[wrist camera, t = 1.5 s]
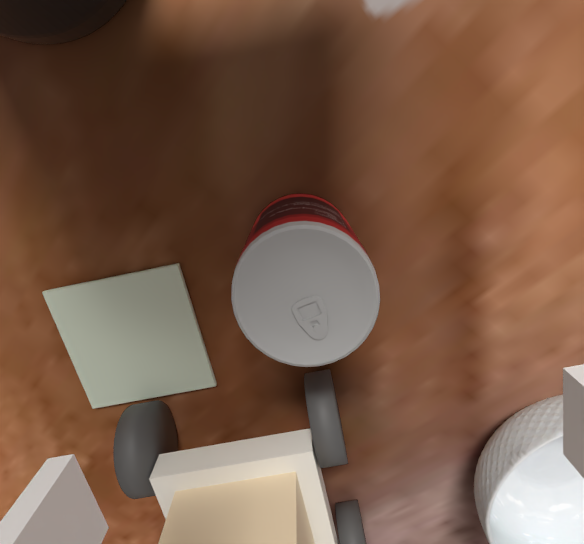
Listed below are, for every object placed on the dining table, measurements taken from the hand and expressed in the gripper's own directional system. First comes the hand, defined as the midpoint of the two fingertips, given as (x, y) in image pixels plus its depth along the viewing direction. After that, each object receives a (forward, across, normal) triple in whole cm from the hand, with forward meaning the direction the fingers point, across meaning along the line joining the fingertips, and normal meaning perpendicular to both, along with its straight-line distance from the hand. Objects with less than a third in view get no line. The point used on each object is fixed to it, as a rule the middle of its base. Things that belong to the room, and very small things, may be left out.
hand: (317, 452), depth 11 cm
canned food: (+22, 0, 0) cm, 22 cm away
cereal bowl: (+22, +18, -23) cm, 36 cm away
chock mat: (+21, -15, -5) cm, 27 cm away
